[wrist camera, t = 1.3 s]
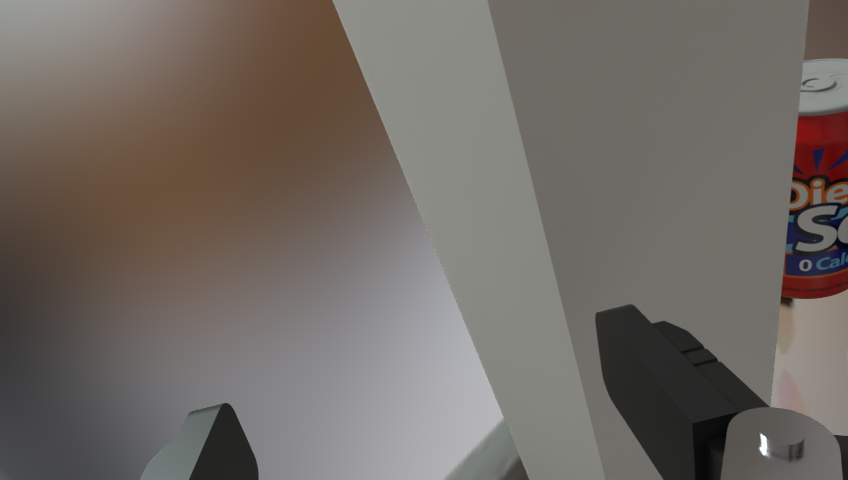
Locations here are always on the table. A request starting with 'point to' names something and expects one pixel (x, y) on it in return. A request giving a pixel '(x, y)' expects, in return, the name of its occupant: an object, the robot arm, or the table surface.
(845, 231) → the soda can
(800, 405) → the table surface
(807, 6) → the plinth
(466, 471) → the table surface
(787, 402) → the table surface
